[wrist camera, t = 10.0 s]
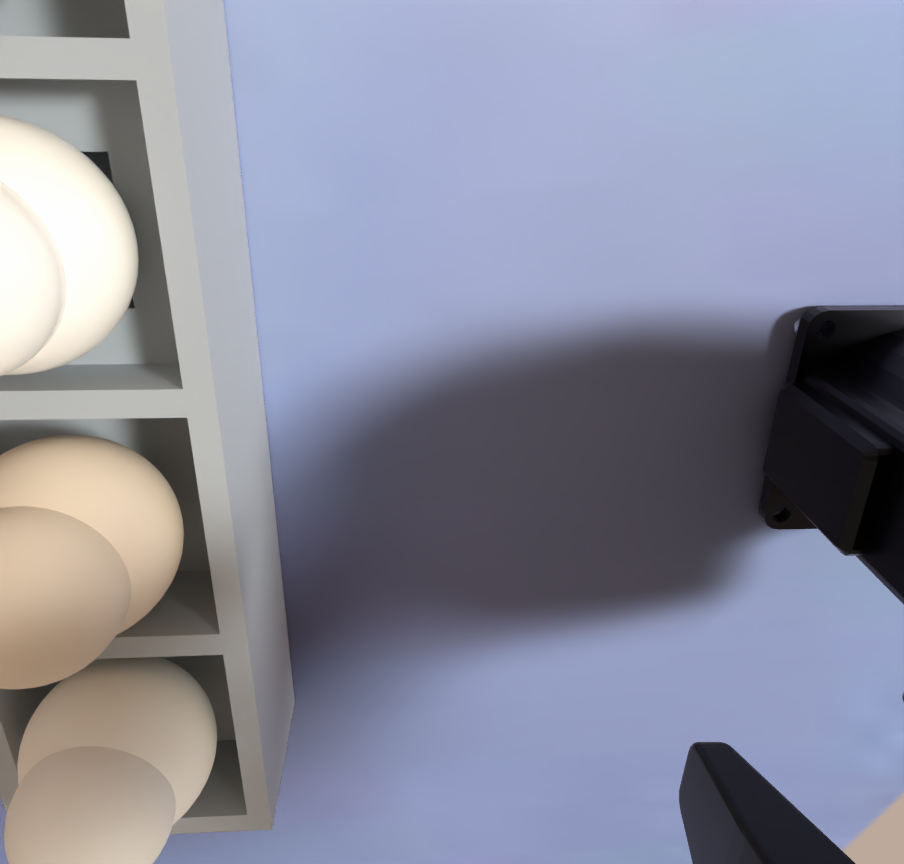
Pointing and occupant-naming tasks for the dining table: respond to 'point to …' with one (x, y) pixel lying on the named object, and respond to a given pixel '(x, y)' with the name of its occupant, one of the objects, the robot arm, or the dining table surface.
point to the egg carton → (141, 470)
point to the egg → (58, 251)
